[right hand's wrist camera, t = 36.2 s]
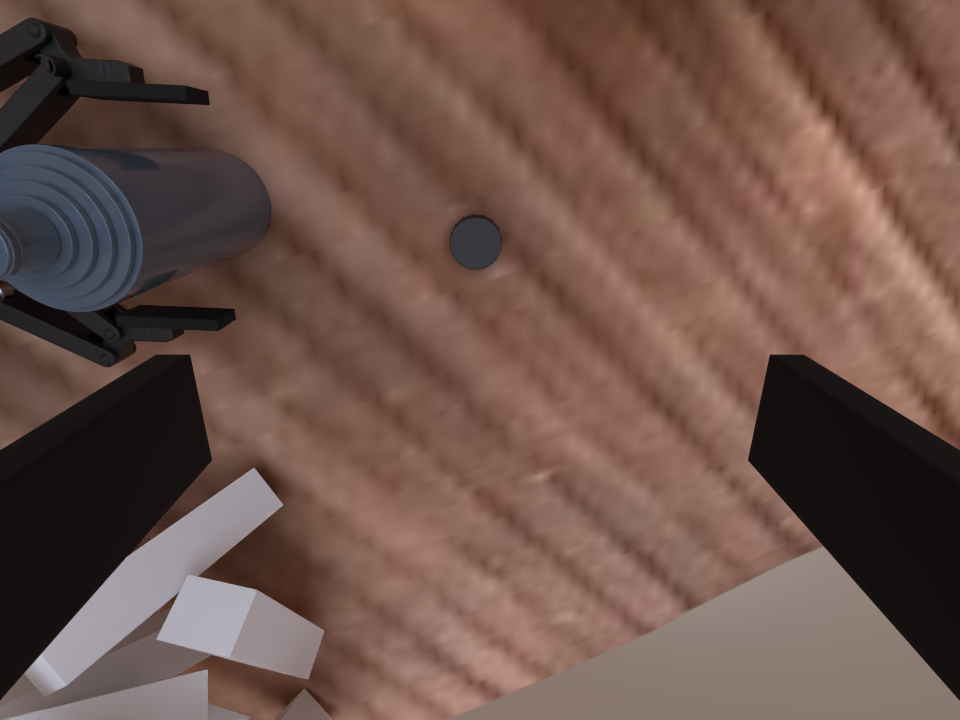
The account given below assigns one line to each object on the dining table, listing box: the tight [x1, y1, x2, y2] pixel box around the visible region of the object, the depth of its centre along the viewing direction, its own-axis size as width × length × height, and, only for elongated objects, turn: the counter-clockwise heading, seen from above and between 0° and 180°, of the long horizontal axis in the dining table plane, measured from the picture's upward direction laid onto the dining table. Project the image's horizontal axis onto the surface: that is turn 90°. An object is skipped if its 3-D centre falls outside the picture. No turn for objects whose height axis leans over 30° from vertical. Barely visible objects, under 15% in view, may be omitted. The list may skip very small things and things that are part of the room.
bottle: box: [0, 144, 271, 312], centre depth 30 cm, size 8×8×21 cm
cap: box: [450, 214, 502, 270], centre depth 40 cm, size 4×4×2 cm
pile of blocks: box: [0, 468, 333, 720], centre depth 41 cm, size 35×30×35 cm
